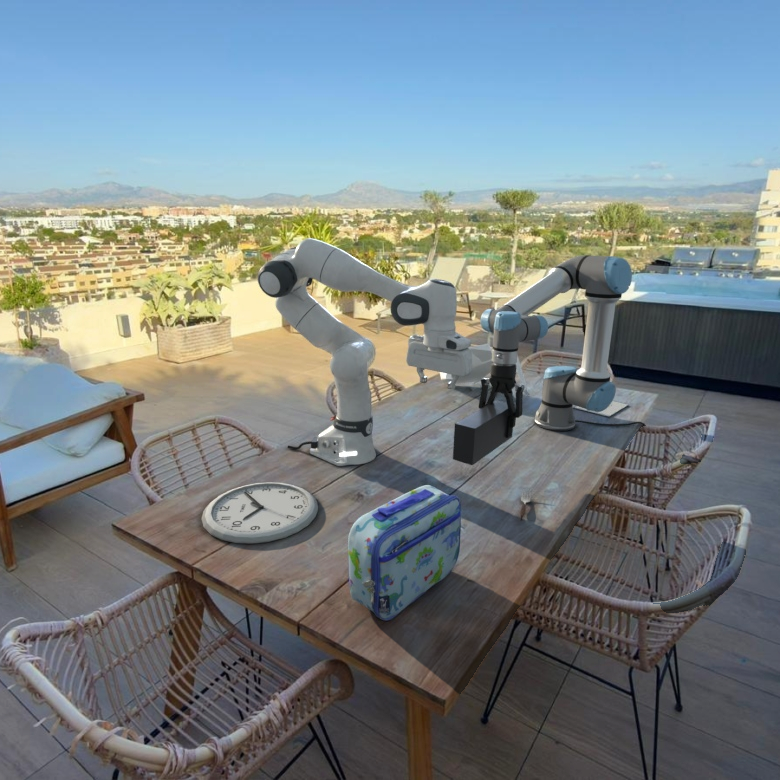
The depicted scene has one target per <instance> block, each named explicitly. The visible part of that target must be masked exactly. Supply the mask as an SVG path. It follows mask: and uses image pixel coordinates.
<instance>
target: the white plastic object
mask: <svg viewBox="0 0 780 780" xmlns="http://www.w3.org/2000/svg"><path fill="white" fill-rule="evenodd" d="M468 348H469V349H470V351H471V353H472V371H471V373H470V374H469V375H467V376H465V377H462V376H459V378H458V380H457V381H456V383H455V385H458V384H467V383H468V384H469V383H473V384H477V383H481V380H482V379H484V378H486V376H487V375H489V374H491V364H492V363H493V362H492V351H493V347H491V346H490V344H489V343H488V342H487V343H483V344H479V345H473V346H470V347H468ZM522 368H523V367H522V366H521V362H520V359H519V355H517V363H516V374H517V376H518V380H519V382H520V385H524V386H525V388H524V390H523V394H524V395H525V396H526V397H528V396H531V395H530V390H529V388H528V387H529V386H528V384H527V381H526V378H525V375H524V371H523V369H522ZM439 376H440V381H442V383H443V384H444V385H445V386H448V383H449V382H451V381H452V379H453V378H451V374H447V373H442V372H439ZM512 392H513V398H514V399H515V400H516V391H515V387H514V388H513V389H512Z"/></svg>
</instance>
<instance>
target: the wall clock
mask: <svg viewBox="0 0 780 780" xmlns="http://www.w3.org/2000/svg"><path fill="white" fill-rule="evenodd" d="M318 511H319V505H318V501H317V499H316V498H315V496H314V495H313V494H312V493H310V492H309V491H307V490H306V489H304V488H302V487H299V486H297V485H294V484H290V483H285V482H271V481H269V482H256V483H250V484H246V485H242V486H239V487H235V488H233V489H229V490H227V491H226V492H224V493H221V494H219V495H218V496H217V497H216V498H214V499H213V500H211V502H209V503H208V504H207V506H206V507H205V508H204V510H203V511H202V515H201V523H202V527H203V528H204V530H205V531H207V532H208V533H209V535H211V536H213V537H214V538H217V539H219V540H221V541H225V542H230V543H233V544H234V543H235V544H260V543H261V544H262V543H270V542H273V541H277V540H282V539H285V538H287V537H289V536H292V535H294V534H297V533H299V532H300V531H302V530H303V529H304V528H306V527H308V526H309V525H310V524H311V523H312V522H313V521H314V519H315V518H316V516H317V514H318Z"/></svg>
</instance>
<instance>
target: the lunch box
mask: <svg viewBox="0 0 780 780" xmlns="http://www.w3.org/2000/svg"><path fill="white" fill-rule="evenodd" d="M461 520H462V506H461V500H460V498H459V497H458V496H457V495H454V494H450V495H449V494H448V493H445V492H444V491H442V490H440V489H438V488H436V487H435V486H432V485H430V484H425V485H420V486H418V487H416V488H415V489H412V490H410V491H408V492H406V493H404V494H402V495H400V496H398V497H396V498H394V499H392V500H390V501H388V502H386V503H384V504H382V505H380V506H378V507H377V508H375V509H372V510H371V511H368V512H367V513H365V514H362V515H361V516H359V517H357V519H356V520H355V521H354V523H353V524H352V526H351V528H350V530H349V533H348V536H347V537H348V538H347V557H348V559H347V560H348V586H349V592H350V597H351V599H352V600H353V601H355V602H356V603H358V604H360V605H362V606H364V607H365V608H366V609H368V610H369V611H371V612H372V613H374V615H375V616H376V617H377V618H379V619H380V620H383V621H390V620H393V619H394V618H395V617H397V616H398V615H399V614H400V613H401V612H402V611H403V610H405V609H406V608H407V607H408V606H409V605H411V604H412V603H414V602H415V601H416V600H417V599H419V598H420V597H421V596H422V595H424V594H425V593H426V592H427V591H429V589H431V588H432V587H433V586H435V585H436V584H438V583H439V582H440V581H442V580H444V579H445V578H446V577H448V575H450V573H451V572H452V571H453V570H454V568H455V566H456V564H457V562H458V559H459V555H460V552H461V551H460V549H461V535H462V534H461V533H462V521H461Z"/></svg>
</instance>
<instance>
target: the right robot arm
mask: <svg viewBox="0 0 780 780" xmlns="http://www.w3.org/2000/svg"><path fill="white" fill-rule="evenodd" d="M632 280H633V272H632V267H631V265H630V263H629V261H627V260H626V259H625V258H624V257H618V256H614V255H590V254H582V255H578V256H577V255H576V256H574V257H571V258H569V259H567V260H565V261H563V262H561V263H559V264H557V265H556V266H554V267H553V268H551V269H550V270H549V271H548V273H547V275H546V276H544V277H543V278H541V279H540V280H539V281H537V282H536V283H534V284H533V285H531V286H529V287H528V288H527V289H525V290H524V291H522V292H521V293H520V294H518V295H517V296H515V297H514V298H512V299H510V300H509V301H508V302H506V303H505V304H504V305H502V306H500V307H499V308H497V309H495V308H487V309H486V310H484V311H483V312H482V314H481V316H480V320H479V321H480V322H479V323H480V326H481V328H482V329H483V331H486V332H488V333H491V334H493V337H492V338H493V340H492V350H493V351H492V362H493V363H492V364H491V372H490V377H483V379H482V380H481V381H480V385H481V389H480V394H479V402H478V410H480V409H482V408H483V407H485V406H487V405H489V404H491V403H493V402H494V401H496V400H495V399H496V397H497V395H498V393H500V394H503V395H504V398H505V402H507V406H508V410H509V415H510V417H508V418H507V429H506V438H509V437H510V436H511V435H512V436H513V432H512V428H513V429H514V428H515V427H516V421H517V419H518V418H520V417H522V416H523V412H524V411H523V406H524V404H523V403H524V402H523V399H524V397H523V395H524V391H523V390H524V388H525V386H524V385H521V384H519V383H517V381H516V377H517V376H516V375H517V369H516V363H517V355H518V354H519V343H524V342H531V341H537V340H540V339H543V338H544V337H546V336H547V334H548V331H549V323H548V321H547V319H546V318H545V317H544V316H543V315H540V314H537V315H536V314H532V313H534V312H536V311H537V310H538V309H540V308H541V307H543V306H544V305H546V304H547V303H548V302H549V301H552V300H553V299H554V298H555V297H557V296H558V295H559V294H564V293H567V292H569V291H570V290H576V289H578V290H585V293H584V297H585V298H586V299H587V300H588V307H587V315H586V316H587V317H586V322H585V323H586V324H585V333H584V340H583V348H582V356H581V364H580V365H581V366H580V368H577V367H576V366H571V365H570V366H569V365H557V366H556V365H555V366H550V367H547V368H546V369H545V371H544V375H543V378H542V379H543V381H542V382H543V383H542V394H541V402H540V405H539V407H538V409H537V410H536V411H535V416H534V424H535V425H536V426H537V427H539V428H542V429H544V430H549V431H556V432H567V431H572V430H574V429H575V428H576V423H580V424H588V425H594V426H605V427H620V426H632V425H638V424H639V425H642V426H643V427H647V425H646V424H645V423H644V422H642V421H633V422H627V423H601V422H592V421H587V420H585V421H584V420H578V419H576V418H575V417H576V416H575V413H574V407H576V406H578V407H581V408H584V409H587V410H589V411H590V410H591V411H595V412H601V411H603V410H605V409H606V408H607V407H608V406H609V405H610V404H611V402H612V401H614V398H615V396H616V392H617V388H616V384H615V383H614V382H613V381H611V373H610V372H609V371H608V363H609V356H610V347H611V342H612V333H613V326H614V319H615V311H616V304H617V302H618V301H619V300H621V299H622V295H623V294H626V293H627V292H628V290H630V286H631V284H632ZM531 314H532V315H531ZM518 356H519V355H518ZM490 385H491V387H492V388H491V390H490V393H489V396H488V392H489V386H490ZM513 388H515V391H516V399H515V400H514V396H513V392H512V389H513ZM573 406H574V407H573Z"/></svg>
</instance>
